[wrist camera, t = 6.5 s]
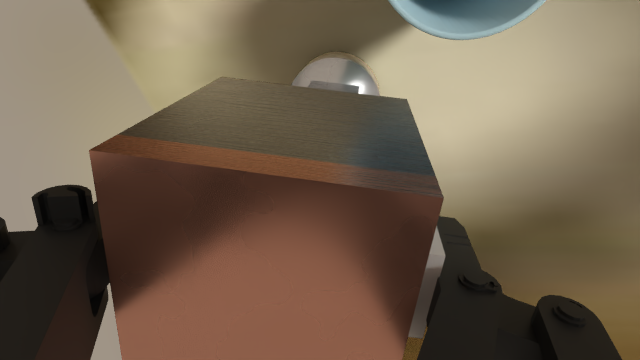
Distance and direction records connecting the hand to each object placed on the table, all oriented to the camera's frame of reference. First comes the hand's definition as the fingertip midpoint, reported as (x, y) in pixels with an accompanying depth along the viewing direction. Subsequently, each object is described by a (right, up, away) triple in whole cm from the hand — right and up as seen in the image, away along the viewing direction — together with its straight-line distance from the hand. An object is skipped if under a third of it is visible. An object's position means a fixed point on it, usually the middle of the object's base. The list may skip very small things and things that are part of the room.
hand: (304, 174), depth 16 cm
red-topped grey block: (0, 0, 0) cm, 0 cm away
